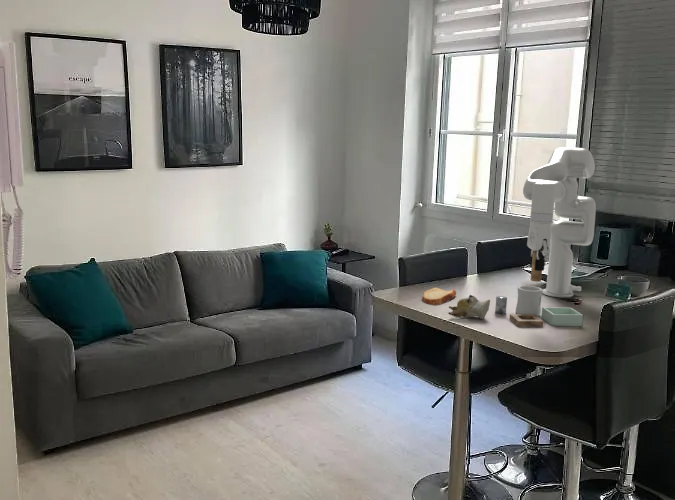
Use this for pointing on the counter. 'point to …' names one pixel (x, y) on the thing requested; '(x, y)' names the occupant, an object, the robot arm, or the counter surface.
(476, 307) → the ceramic sculpture
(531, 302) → the mug
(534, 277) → the dowel
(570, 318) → the tray
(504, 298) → the bench dog
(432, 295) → the slice of bread
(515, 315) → the socket block
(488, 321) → the counter surface
